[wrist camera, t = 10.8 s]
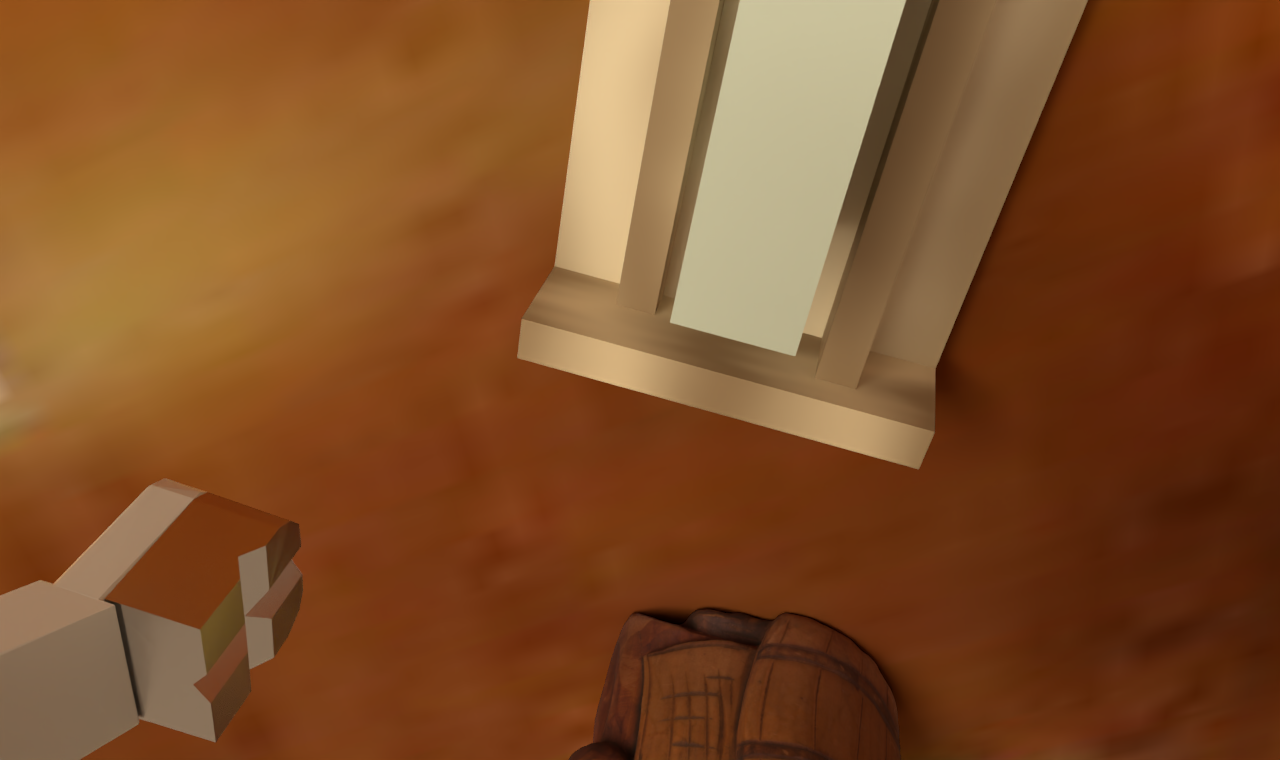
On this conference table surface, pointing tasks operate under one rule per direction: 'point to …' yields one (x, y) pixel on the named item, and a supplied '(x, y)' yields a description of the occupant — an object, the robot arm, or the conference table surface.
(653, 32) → the track frame
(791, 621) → the wooden figurine
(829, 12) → the cream rectangular block
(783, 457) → the conference table surface
